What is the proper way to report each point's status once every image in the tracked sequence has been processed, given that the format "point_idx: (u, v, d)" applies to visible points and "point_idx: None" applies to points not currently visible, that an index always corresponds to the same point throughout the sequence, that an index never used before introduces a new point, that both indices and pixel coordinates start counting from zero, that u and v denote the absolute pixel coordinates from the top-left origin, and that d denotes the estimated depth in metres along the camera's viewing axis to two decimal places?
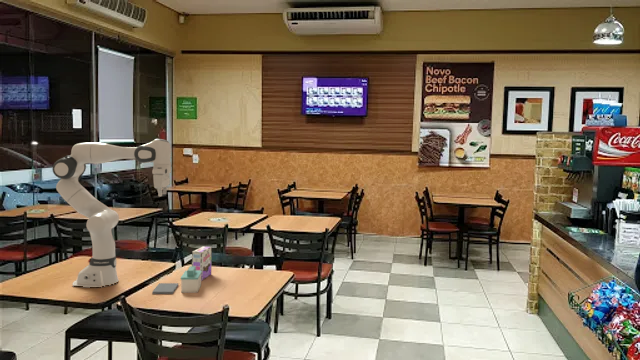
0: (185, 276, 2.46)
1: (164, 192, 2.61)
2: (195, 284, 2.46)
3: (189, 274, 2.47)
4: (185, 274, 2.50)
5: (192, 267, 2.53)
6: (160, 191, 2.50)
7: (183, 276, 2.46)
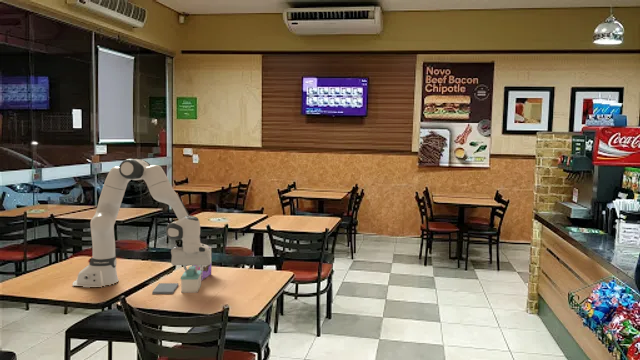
0: (185, 276, 2.46)
1: None
2: (195, 284, 2.46)
3: (189, 274, 2.47)
4: (185, 274, 2.50)
5: (192, 267, 2.53)
6: (198, 267, 2.51)
7: (183, 276, 2.46)
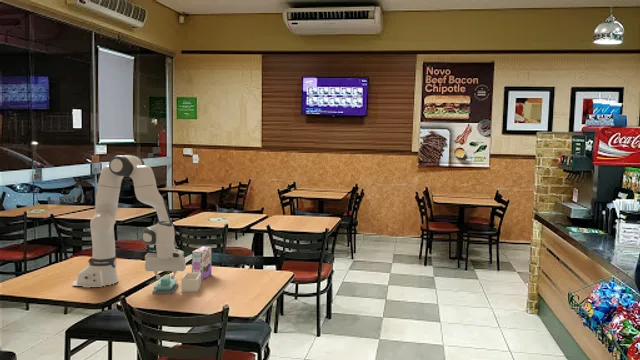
0: (159, 285, 2.45)
1: (159, 277, 2.49)
2: (195, 284, 2.46)
3: (163, 283, 2.45)
4: (159, 283, 2.48)
5: (167, 276, 2.51)
6: (175, 273, 2.50)
7: (157, 285, 2.45)
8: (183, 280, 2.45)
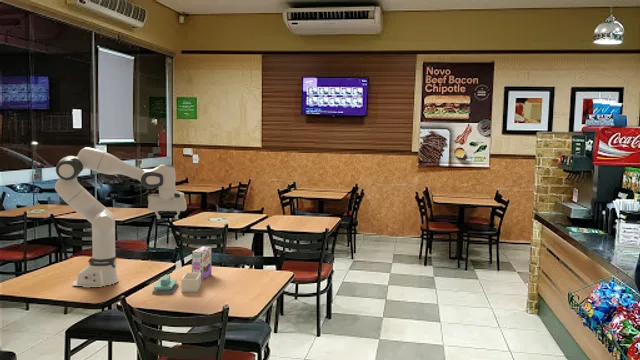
0: (159, 285, 2.45)
1: (160, 216, 2.64)
2: (195, 284, 2.46)
3: (163, 283, 2.45)
4: (159, 283, 2.48)
5: (167, 276, 2.51)
6: None
7: (157, 285, 2.45)
8: (183, 280, 2.45)
